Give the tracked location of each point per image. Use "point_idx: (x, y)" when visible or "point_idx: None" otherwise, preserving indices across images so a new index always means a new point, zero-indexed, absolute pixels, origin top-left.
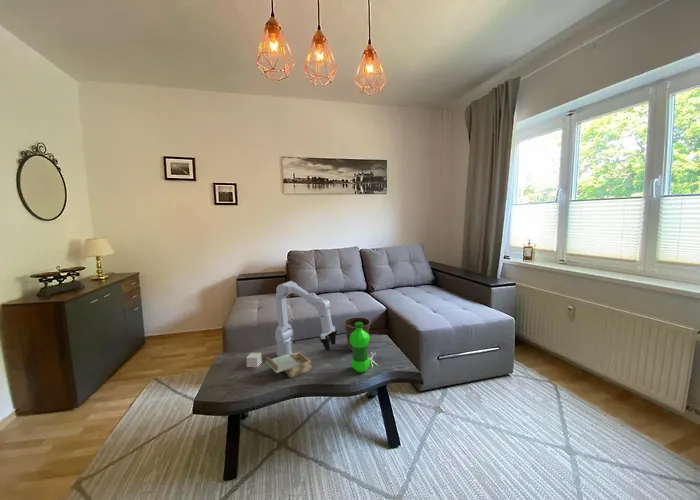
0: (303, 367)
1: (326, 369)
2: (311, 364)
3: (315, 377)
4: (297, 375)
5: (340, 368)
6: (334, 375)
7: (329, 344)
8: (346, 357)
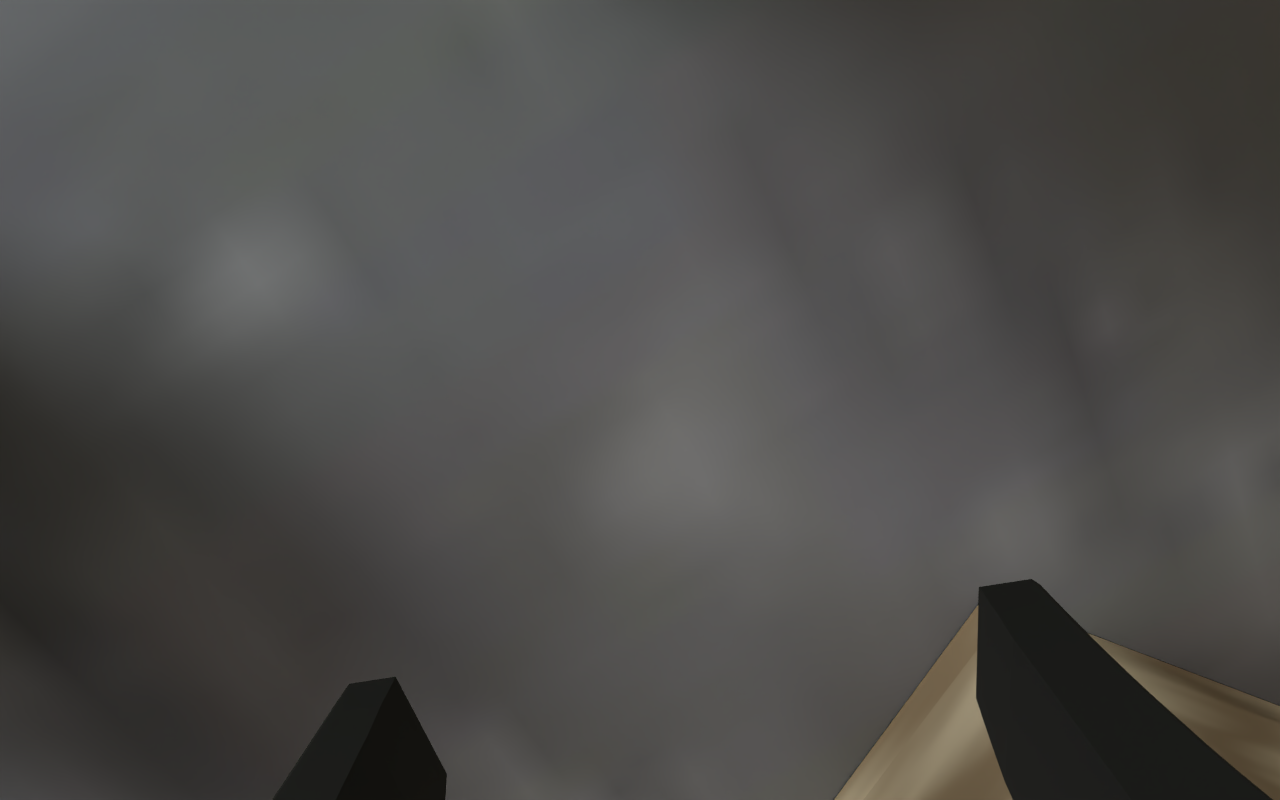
0: (1196, 734)
1: (854, 370)
2: None
3: (1224, 385)
4: (1230, 688)
5: (681, 97)
6: (1040, 46)
7: (1154, 795)
8: (138, 265)
